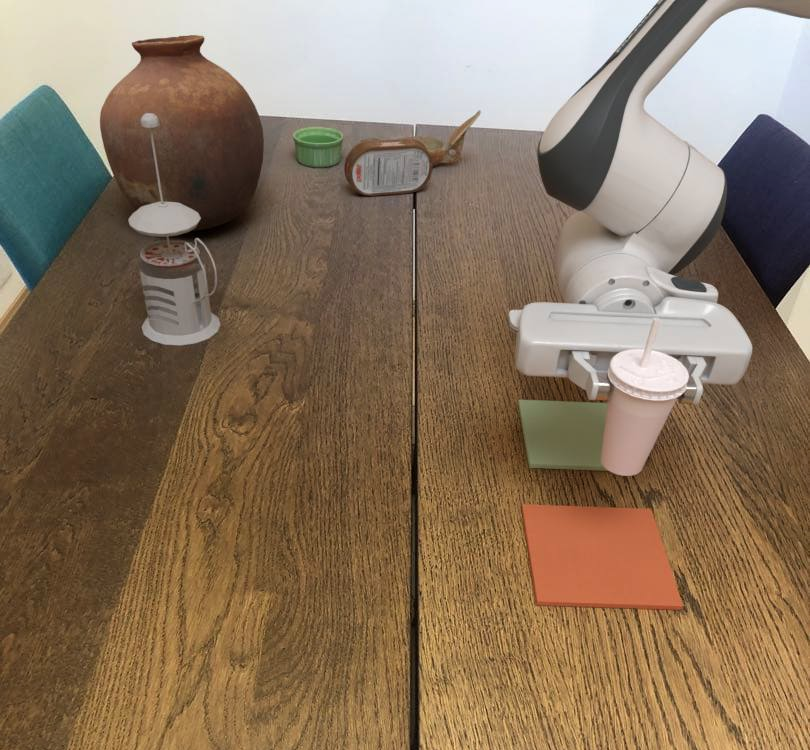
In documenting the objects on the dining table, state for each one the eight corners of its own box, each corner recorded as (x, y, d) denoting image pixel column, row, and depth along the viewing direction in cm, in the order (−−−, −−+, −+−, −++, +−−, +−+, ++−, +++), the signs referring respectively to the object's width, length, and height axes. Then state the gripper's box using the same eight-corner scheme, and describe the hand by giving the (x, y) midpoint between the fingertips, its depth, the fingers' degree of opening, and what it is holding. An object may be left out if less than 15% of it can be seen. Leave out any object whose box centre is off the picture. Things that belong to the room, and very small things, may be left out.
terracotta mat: (649, 513, 82) (651, 508, 82) (681, 610, 73) (683, 605, 72) (521, 508, 82) (522, 503, 81) (536, 605, 72) (537, 601, 72)
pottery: (227, 263, 117) (206, 68, 100) (88, 234, 122) (45, 43, 105) (293, 207, 133) (285, 30, 116) (167, 183, 138) (142, 10, 121)
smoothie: (581, 438, 75) (616, 297, 65) (651, 442, 75) (696, 302, 65) (590, 483, 70) (629, 338, 61) (664, 488, 70) (715, 344, 61)
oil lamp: (472, 178, 146) (478, 117, 139) (355, 165, 148) (355, 105, 141) (477, 161, 152) (483, 103, 146) (365, 149, 154) (366, 91, 148)
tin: (427, 186, 142) (430, 135, 137) (433, 193, 140) (436, 141, 134) (343, 193, 138) (343, 140, 133) (348, 200, 136) (348, 147, 131)
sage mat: (620, 407, 95) (621, 403, 95) (641, 472, 87) (642, 467, 86) (517, 403, 95) (518, 399, 95) (529, 468, 86) (529, 463, 86)
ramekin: (293, 151, 152) (292, 126, 149) (342, 152, 153) (342, 127, 150) (294, 169, 145) (293, 143, 142) (344, 169, 146) (344, 143, 143)
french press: (182, 299, 109) (151, 93, 92) (247, 327, 105) (227, 117, 87) (124, 327, 103) (80, 113, 86) (190, 359, 99) (157, 139, 81)
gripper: (510, 275, 74) (525, 355, 64) (732, 285, 75) (782, 367, 65) (501, 337, 78) (514, 421, 68) (711, 346, 79) (754, 432, 69)
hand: (646, 395), depth 67 cm, fingers closed on smoothie, 6 cm apart
